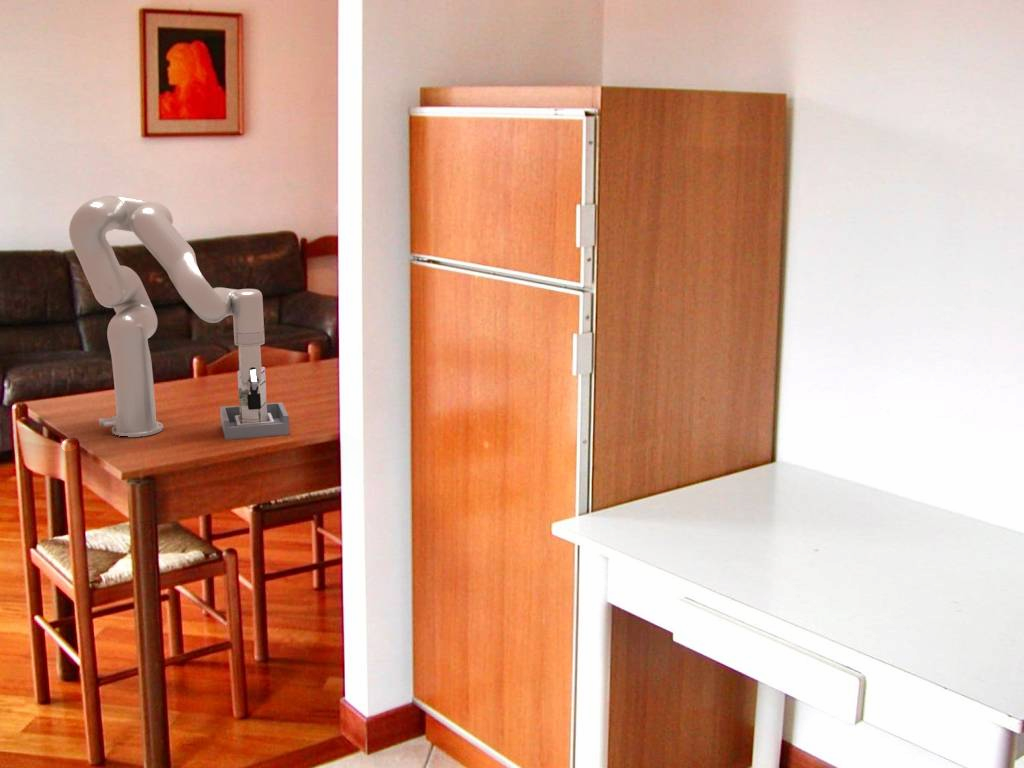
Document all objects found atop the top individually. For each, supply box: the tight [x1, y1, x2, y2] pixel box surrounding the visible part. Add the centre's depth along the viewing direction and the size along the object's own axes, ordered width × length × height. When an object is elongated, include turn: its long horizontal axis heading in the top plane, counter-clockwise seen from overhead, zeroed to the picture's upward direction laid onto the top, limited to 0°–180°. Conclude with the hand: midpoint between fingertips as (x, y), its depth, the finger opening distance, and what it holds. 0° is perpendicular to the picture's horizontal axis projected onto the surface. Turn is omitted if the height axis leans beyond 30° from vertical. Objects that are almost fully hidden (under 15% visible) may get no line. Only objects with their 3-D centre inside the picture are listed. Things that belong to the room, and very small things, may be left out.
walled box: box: [219, 401, 290, 441], centre depth 305 cm, size 16×14×5 cm
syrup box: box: [237, 366, 268, 424], centre depth 303 cm, size 6×6×14 cm
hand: (253, 404), depth 304 cm, fingers closed on syrup box, 7 cm apart
